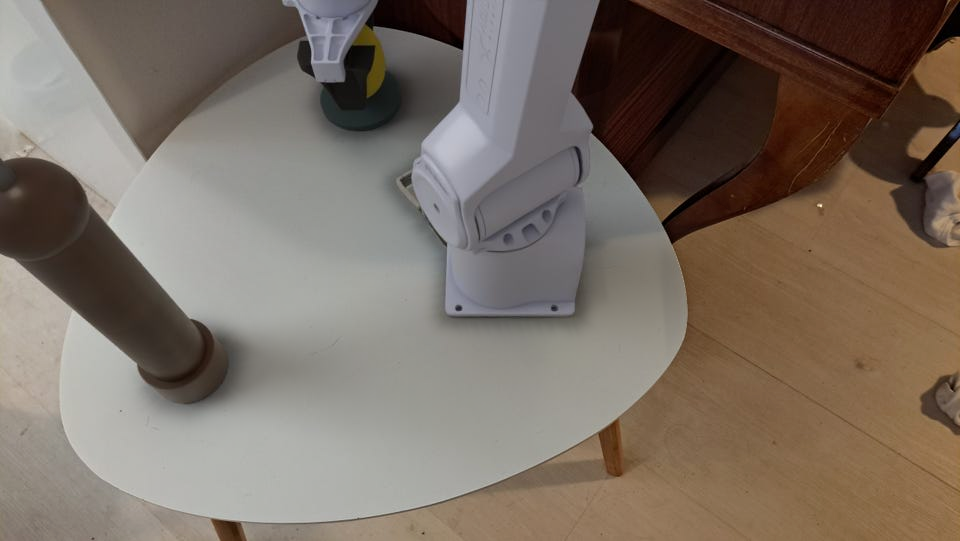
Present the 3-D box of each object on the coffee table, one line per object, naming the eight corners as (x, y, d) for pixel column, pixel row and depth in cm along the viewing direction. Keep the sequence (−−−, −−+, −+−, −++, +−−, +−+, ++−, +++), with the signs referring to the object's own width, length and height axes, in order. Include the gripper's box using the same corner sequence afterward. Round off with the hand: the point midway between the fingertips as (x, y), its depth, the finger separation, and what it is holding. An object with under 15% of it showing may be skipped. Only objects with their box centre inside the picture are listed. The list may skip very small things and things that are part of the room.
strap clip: (393, 185, 59) (386, 153, 56) (424, 167, 60) (419, 134, 56) (452, 258, 56) (449, 229, 52) (484, 238, 57) (483, 208, 53)
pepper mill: (234, 335, 53) (63, 115, 32) (221, 403, 50) (26, 215, 29) (163, 334, 53) (-55, 116, 32) (147, 403, 50) (-101, 215, 29)
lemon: (381, 124, 61) (367, 54, 54) (318, 114, 62) (296, 44, 55) (397, 76, 64) (386, 3, 57) (337, 67, 64) (318, -6, 57)
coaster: (403, 69, 65) (402, 65, 65) (398, 131, 62) (398, 126, 61) (325, 70, 65) (324, 65, 65) (316, 131, 62) (315, 126, 61)
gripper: (280, -129, 53) (318, 18, 65) (248, 12, 46) (298, 147, 58) (376, -130, 53) (397, 17, 65) (359, 11, 46) (386, 147, 58)
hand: (356, 78), depth 61 cm, fingers closed on lemon, 5 cm apart
